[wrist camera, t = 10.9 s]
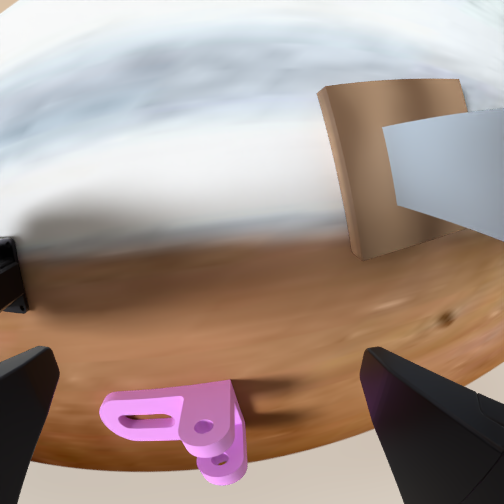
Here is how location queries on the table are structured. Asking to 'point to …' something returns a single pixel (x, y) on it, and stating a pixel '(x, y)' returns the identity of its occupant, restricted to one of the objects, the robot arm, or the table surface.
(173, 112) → the table surface
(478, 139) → the block
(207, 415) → the bracket
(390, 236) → the plinth
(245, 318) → the table surface
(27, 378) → the robot arm
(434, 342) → the table surface
